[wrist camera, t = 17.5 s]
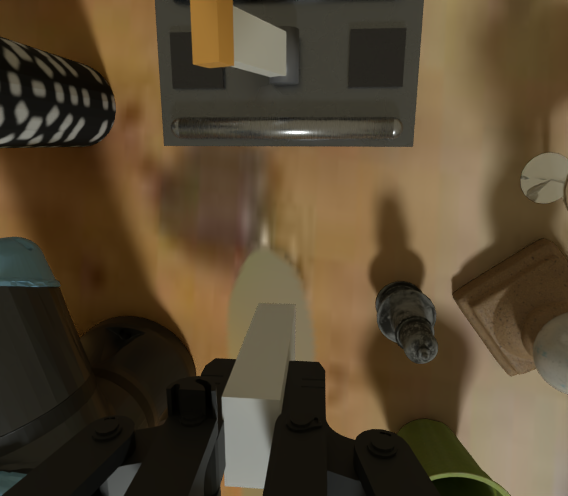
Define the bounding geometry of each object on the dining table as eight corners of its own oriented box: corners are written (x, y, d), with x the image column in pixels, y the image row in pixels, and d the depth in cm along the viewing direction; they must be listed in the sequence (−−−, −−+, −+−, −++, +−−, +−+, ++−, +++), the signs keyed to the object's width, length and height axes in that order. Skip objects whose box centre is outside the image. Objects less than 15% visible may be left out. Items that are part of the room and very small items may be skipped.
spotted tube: (46, 148, 45) (-159, 152, 26) (32, 65, 43) (-201, 2, 24) (120, 144, 45) (-34, 146, 25) (109, 60, 43) (-67, -9, 23)
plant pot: (434, 501, 52) (464, 597, 41) (355, 451, 51) (364, 535, 40) (499, 435, 49) (550, 518, 38) (416, 380, 48) (443, 450, 37)
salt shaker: (439, 298, 46) (479, 351, 34) (404, 339, 47) (431, 403, 35) (395, 268, 45) (420, 311, 34) (361, 309, 47) (375, 364, 35)
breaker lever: (278, 86, 36) (190, 64, 26) (278, 34, 35) (187, -7, 25) (303, 84, 35) (221, 61, 25) (304, 31, 34) (219, -14, 24)
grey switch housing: (184, 145, 44) (156, 145, 36) (177, -5, 41) (144, -39, 33) (400, 146, 42) (417, 146, 35) (410, -11, 39) (432, -48, 31)
